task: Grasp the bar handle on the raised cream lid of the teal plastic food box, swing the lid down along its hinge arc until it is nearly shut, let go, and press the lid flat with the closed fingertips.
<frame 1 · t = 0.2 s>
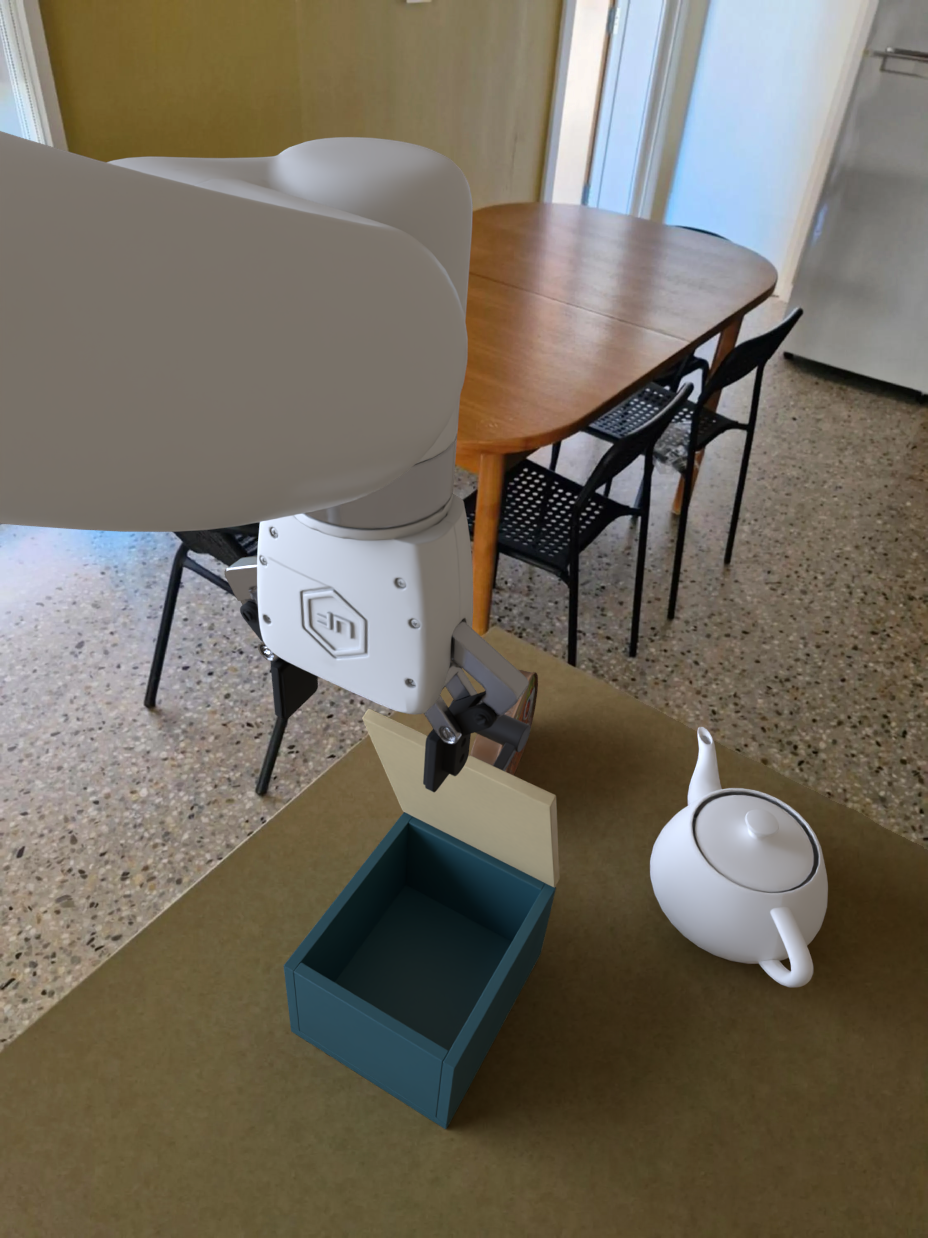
hand: (367, 737, 49), 26 cm above the counter, tool pointing down, fingers open, 9 cm apart
teapot: (722, 896, 73), on the counter
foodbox: (421, 990, 65), on the counter
tin: (498, 770, 82), on the counter
lid: (483, 777, 59), point 17 cm above the counter, hinge at 70.0°
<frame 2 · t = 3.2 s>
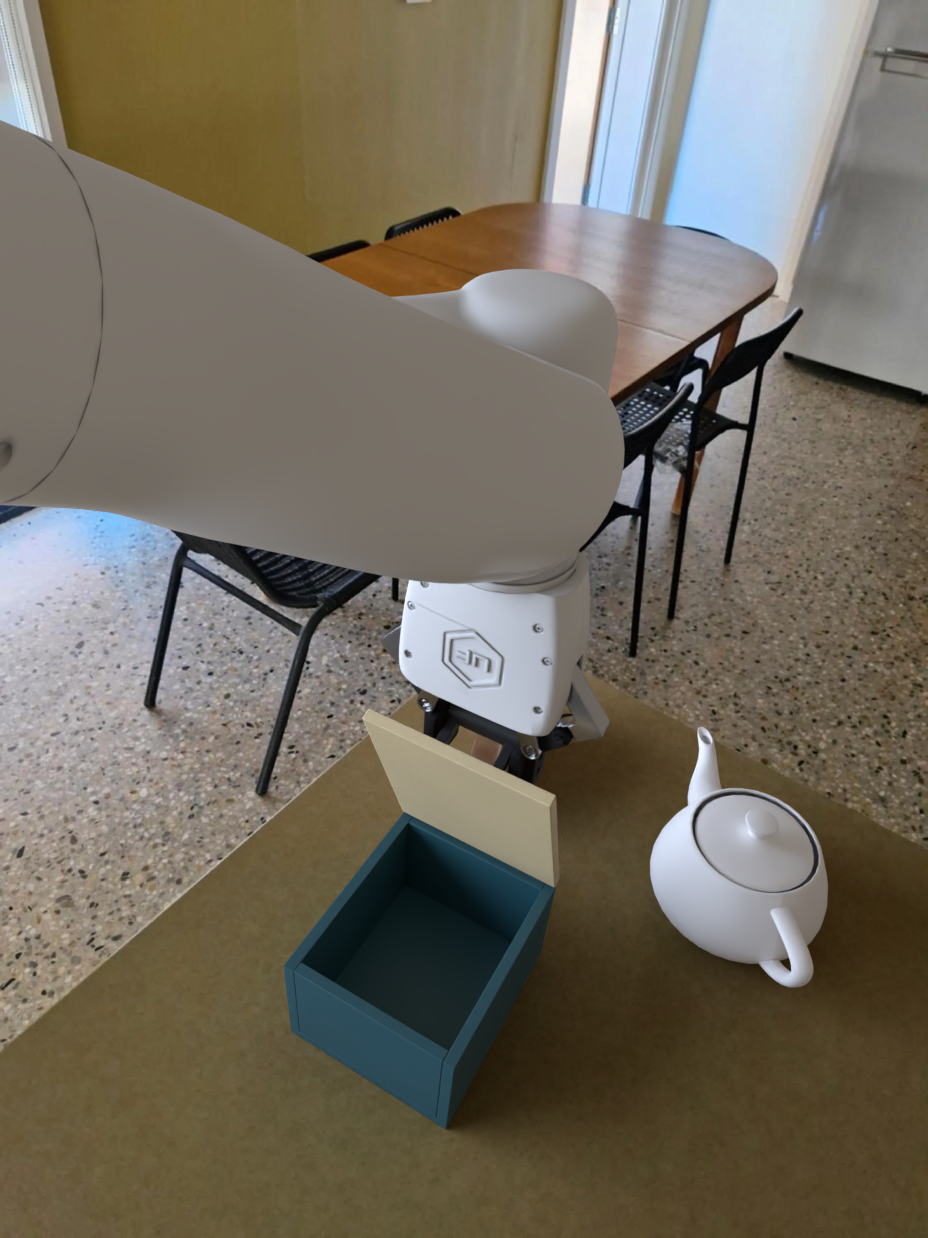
hand: (480, 762, 57), 19 cm above the counter, tool pointing down, fingers closed on lid, 5 cm apart
lid: (483, 777, 59), point 17 cm above the counter, hinge at 70.0°, touching gripper
everything else where it was.
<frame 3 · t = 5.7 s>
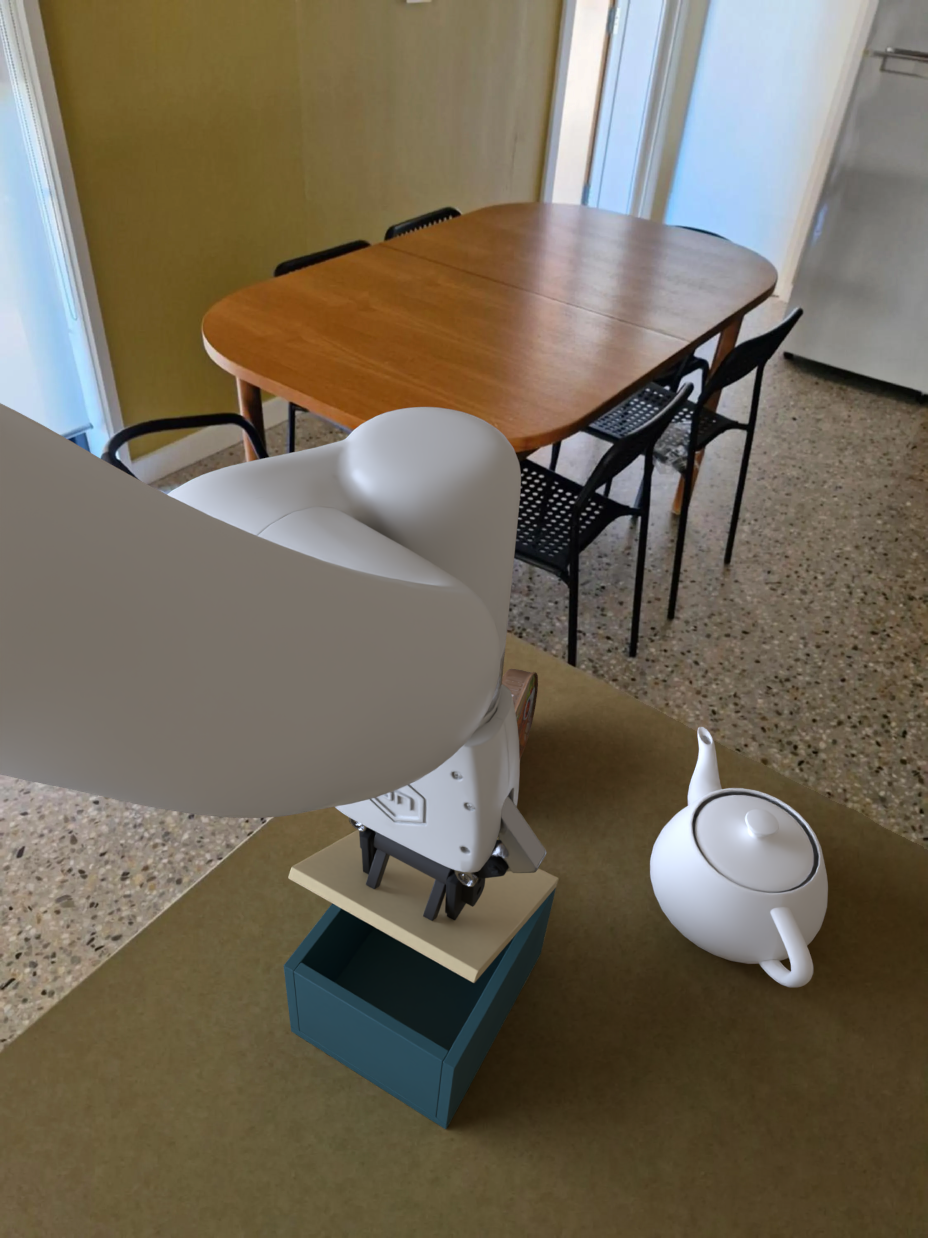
hand: (421, 876, 54), 16 cm above the counter, tool pointing down, fingers closed on lid, 5 cm apart
lid: (444, 849, 57), point 15 cm above the counter, hinge at 30.8°, touching gripper
everything else where it was.
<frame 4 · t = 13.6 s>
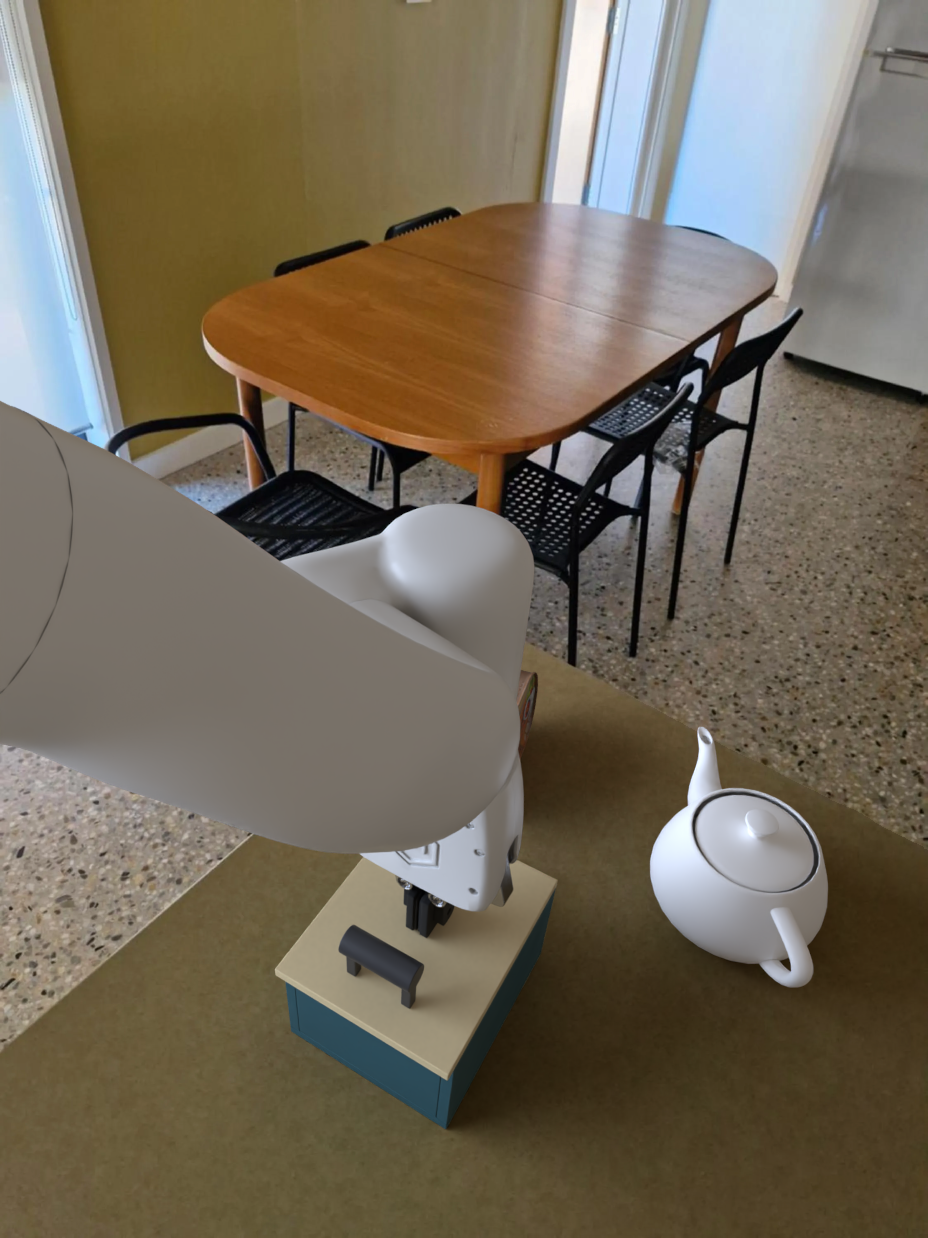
hand: (428, 916, 59), 10 cm above the counter, tool pointing down, fingers closed
lid: (425, 907, 58), point 11 cm above the counter, hinge at -0.2°, touching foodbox, gripper
everything else where it was.
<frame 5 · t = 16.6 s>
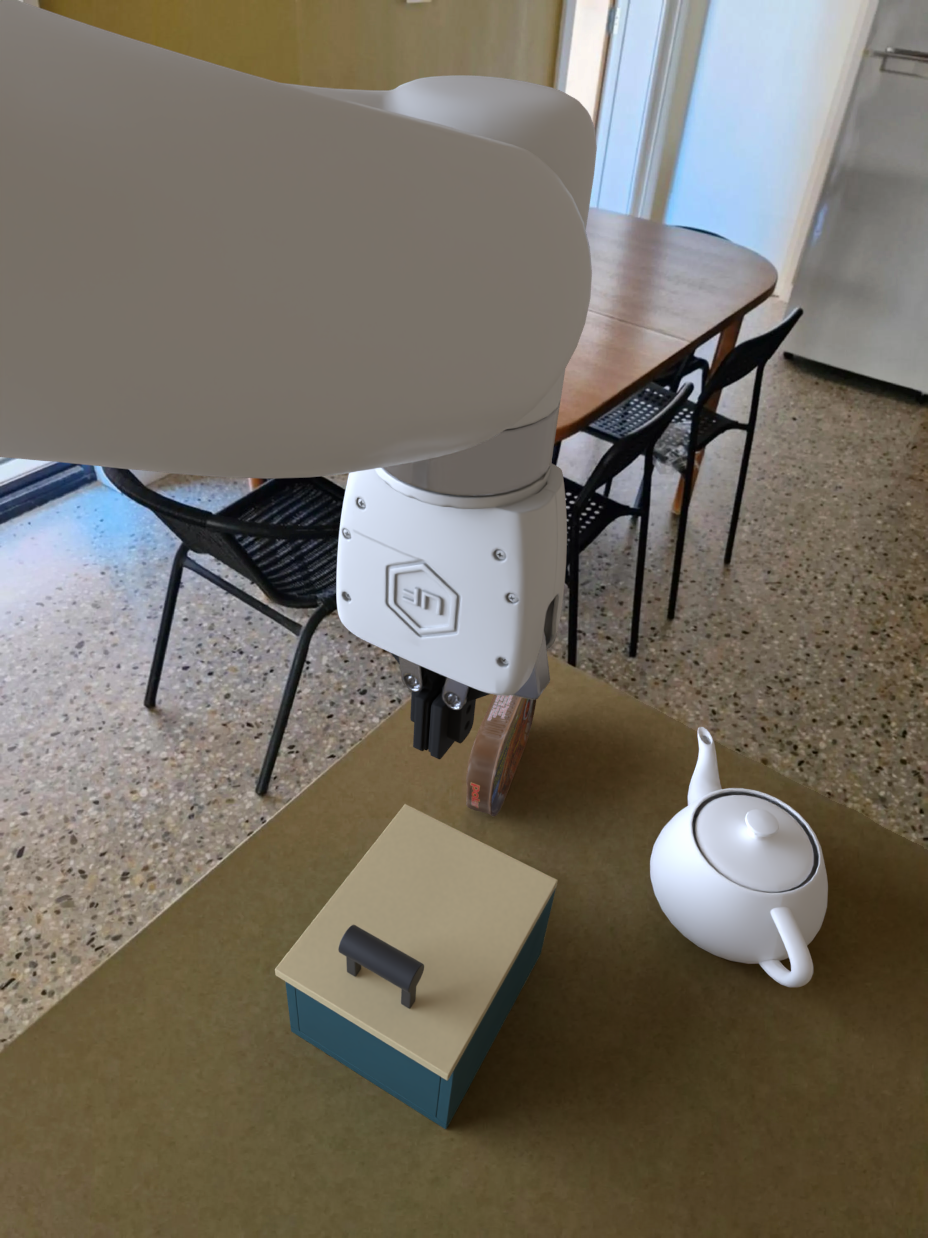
hand: (440, 737, 48), 27 cm above the counter, tool pointing down, fingers closed
lid: (425, 907, 58), point 11 cm above the counter, hinge at -0.2°, touching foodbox
everything else where it was.
at the end: lid at +0° (first picture: +70°); the gripper is holding nothing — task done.
